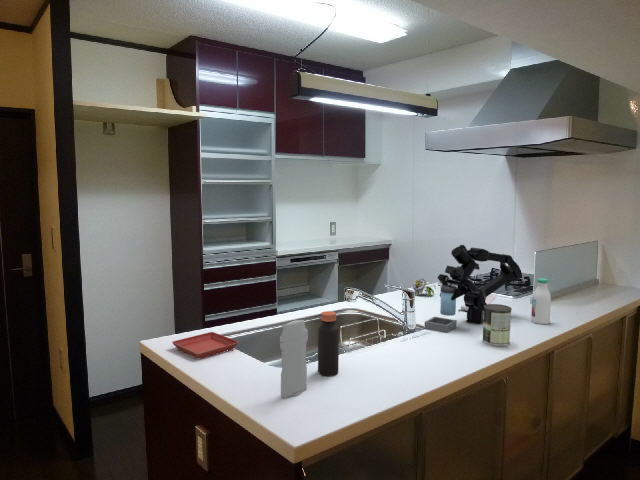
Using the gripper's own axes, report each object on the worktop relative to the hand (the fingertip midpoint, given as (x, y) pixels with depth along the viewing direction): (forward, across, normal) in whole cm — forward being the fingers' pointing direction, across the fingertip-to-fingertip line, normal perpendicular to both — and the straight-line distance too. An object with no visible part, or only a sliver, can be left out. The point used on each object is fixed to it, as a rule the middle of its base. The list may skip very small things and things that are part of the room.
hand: (445, 298), depth 210 cm
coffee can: (+7, +25, +12) cm, 28 cm away
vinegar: (+59, +21, -42) cm, 75 cm away
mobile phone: (-17, -17, +36) cm, 43 cm away
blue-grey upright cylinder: (+4, 0, +6) cm, 7 cm away
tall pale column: (+71, +30, -54) cm, 94 cm away
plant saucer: (+80, -20, -62) cm, 103 cm away
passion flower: (-15, -54, +34) cm, 65 cm away
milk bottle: (-22, +15, +41) cm, 48 cm away
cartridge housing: (+11, 0, +7) cm, 13 cm away
